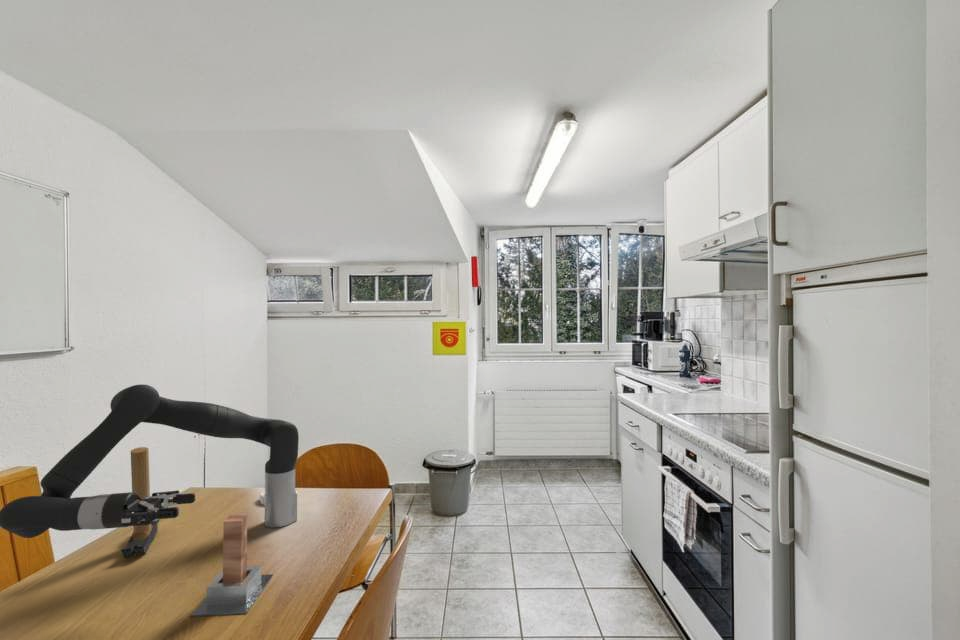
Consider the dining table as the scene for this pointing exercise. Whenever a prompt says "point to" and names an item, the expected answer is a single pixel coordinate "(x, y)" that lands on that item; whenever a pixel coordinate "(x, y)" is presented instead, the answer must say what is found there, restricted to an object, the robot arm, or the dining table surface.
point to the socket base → (232, 606)
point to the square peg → (235, 548)
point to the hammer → (141, 486)
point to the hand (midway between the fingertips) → (186, 504)
